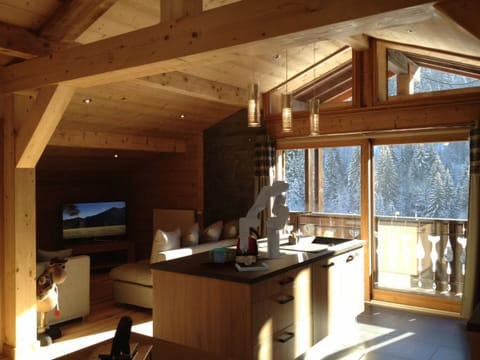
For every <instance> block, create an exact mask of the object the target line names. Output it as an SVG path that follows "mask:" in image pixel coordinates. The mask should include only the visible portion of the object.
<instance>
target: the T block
mask: <svg viewBox="0 0 480 360" xmlns="http://www.w3.org/2000/svg"><path fill="white" fill-rule="evenodd" d="M256 258H257V257H256V255H247V256H242V255H239V256H237V255H236V256H235V262H236V264H240V263H244V265H245V266H252V265H253V264H252V263H256V262H257V259H256Z"/></svg>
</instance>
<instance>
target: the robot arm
mask: <svg viewBox="0 0 480 360" xmlns="http://www.w3.org/2000/svg"><path fill="white" fill-rule="evenodd" d="M271 184H272V185H263V187H262V188H261V190H260V192H259V194H258V196H257V198H256V201H255V203H254V204H253V205H252V207H251V208H250V209H249V210H248V212H247V214H246V217H240V218H239V220H238V221H239V225H238V227H239V228H238V229H239V232H238V233H239V235H238V236H239V238H240V239H239V240H240V241H239V243H240V244H239V249H240V250H241V252H242V254H241V256H248V254H247V252H248V250H249V237H250V228H257V227H259V226H260V225H261V220H260V219H259V218H258V217H257V215H258V214H259V213H260V212H262V211H263V210H264V209H266V207H267V205H268V203H269V201H270V199H271V198H274V197H275V198H274V202H273V204H272V208H271V213H272V215H274V216H270V217H268V218H267V219H266V222H265V227H266V235H267V237H266V242H267V244H266V248H267V249H266V252H267V253H266V255H265V258H266V259H269V260H270V259H271V260H276V259H277V260H279V259H282V257H283V256H286V254H287V253H286V252H281V251H280V249H281V247H280V242H281V241H280V239H281V238H280V231H282V230H283V229H285V227H286V224H287V221H288V217H289V214H290V208H289V206H288V205H287V204H286V202H287V193H286V192H287V191H288V190H289V189H290V185H289V184H290V183H289V182H288V181H286V180H275V181H273V182H272V183H271Z"/></svg>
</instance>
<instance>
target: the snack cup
mask: <svg viewBox="0 0 480 360" xmlns="http://www.w3.org/2000/svg"><path fill="white" fill-rule="evenodd" d="M227 252H228V253H229V258H231V256H232V254H231V250H230V249H228V248H227V247H214V248H212V249H211V250H210V251H209V259H211V253H213V256H214V257H213V258H214V263H216V264H225V263H226V260H227V259H226V258H227Z"/></svg>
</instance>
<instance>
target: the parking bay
mask: <svg viewBox="0 0 480 360" xmlns="http://www.w3.org/2000/svg"><path fill="white" fill-rule="evenodd" d="M261 265H262V266H254V267H241V266H240V265H239V263H235V268H236V270H238V272H257V271H258V272H259V271H270V267H269V265H268V264H266V263H265V262H262V263H261Z"/></svg>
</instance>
